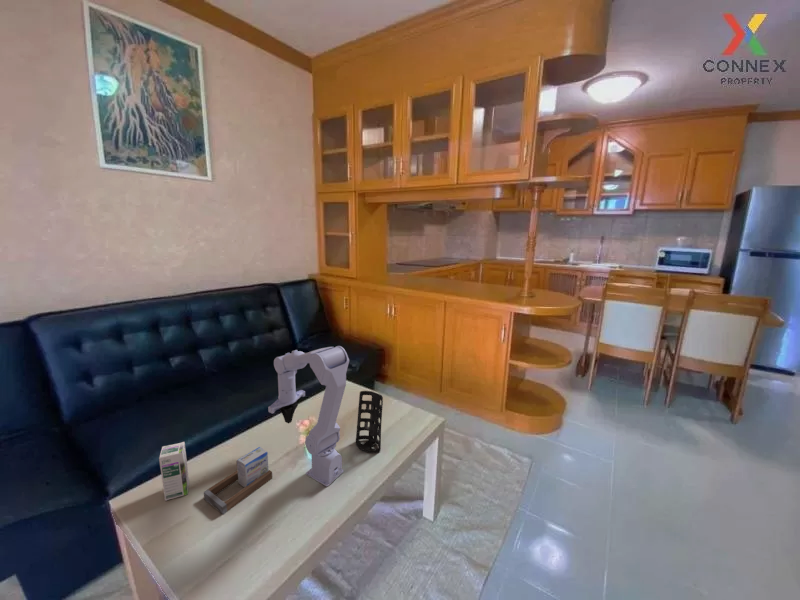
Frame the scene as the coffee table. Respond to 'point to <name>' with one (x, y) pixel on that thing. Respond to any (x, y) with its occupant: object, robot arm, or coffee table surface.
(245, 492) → the open rail bay
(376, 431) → the holder
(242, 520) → the coffee table surface
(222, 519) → the coffee table surface
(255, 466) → the medicine box
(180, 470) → the syrup box
